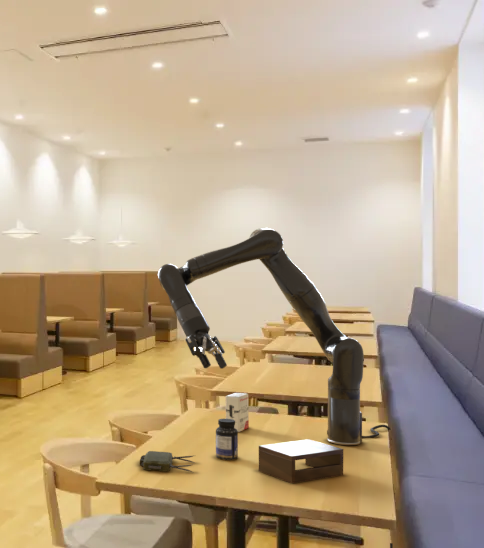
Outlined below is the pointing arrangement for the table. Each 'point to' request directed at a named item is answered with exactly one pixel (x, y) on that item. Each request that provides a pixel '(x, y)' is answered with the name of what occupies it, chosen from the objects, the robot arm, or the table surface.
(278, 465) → the shelf
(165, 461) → the landmine
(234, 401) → the ink box
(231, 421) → the pill bottle
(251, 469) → the table surface
